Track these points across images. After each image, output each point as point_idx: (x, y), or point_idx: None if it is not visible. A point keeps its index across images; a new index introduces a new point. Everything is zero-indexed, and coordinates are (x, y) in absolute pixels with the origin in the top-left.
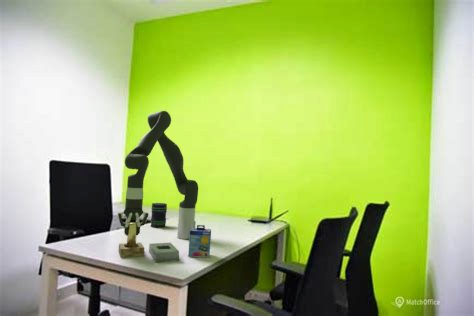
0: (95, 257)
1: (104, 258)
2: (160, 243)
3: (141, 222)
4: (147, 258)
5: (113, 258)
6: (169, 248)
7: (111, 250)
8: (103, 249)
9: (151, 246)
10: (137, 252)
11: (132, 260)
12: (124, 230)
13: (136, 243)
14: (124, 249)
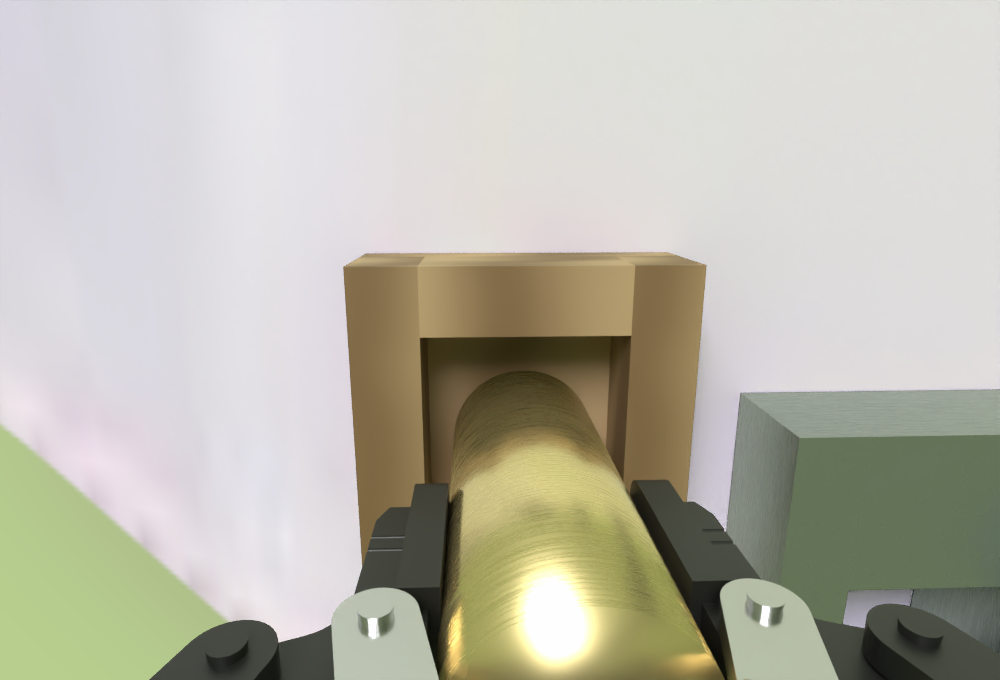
0: (98, 474)
1: (206, 532)
2: (962, 455)
3: (903, 674)
4: None
5: (305, 551)
6: (985, 628)
7: (272, 188)
8: (153, 102)
9: None
10: None
11: None
12: (367, 559)
13: (621, 317)
14: None
